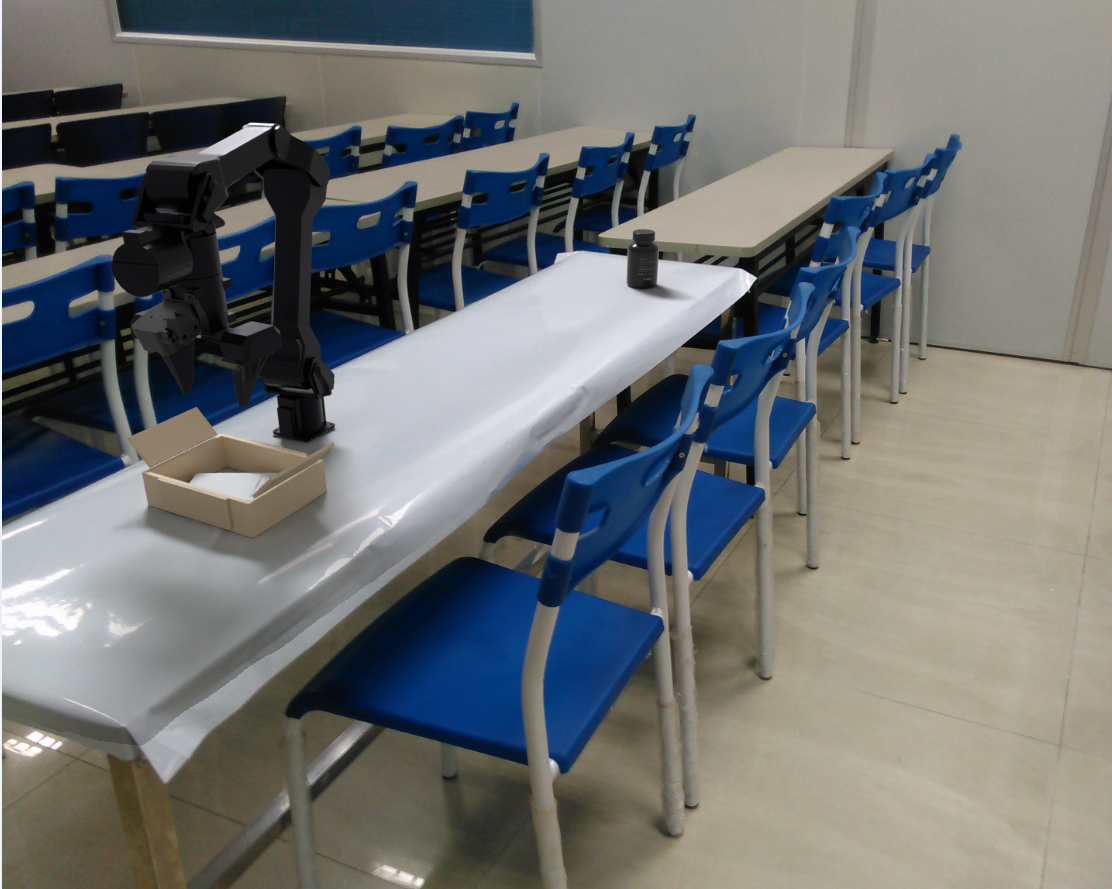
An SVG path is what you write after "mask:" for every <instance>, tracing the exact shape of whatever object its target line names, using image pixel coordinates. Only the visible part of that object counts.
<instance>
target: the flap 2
mask: <svg viewBox="0 0 1112 889" xmlns="http://www.w3.org/2000/svg"><path fill="white" fill-rule="evenodd" d="M335 445H336V443H335V442H334V441H332V442H330V443H328V444H326V445H325V446H323V447H321V448H320V449H318V450H316V451H315V452H313V453H311V454H309V455H307V457H306V458H304V459H302V460H300V461H299V462H297V463H295V464H293V465H292V466H290V467H288V468H286V469H285V470H283V471H281V472H279V473H278V474H276V475H274V476H273V477H271V478H270V479H269V480H268V481H267V482H266V483H265V484H264V485H263V486H262V487H261V488H260V489H259V490H258V491H257V492H256V493H255V494H254V495H253V498H254V499H255V498H256V497H258V496H260V495H261V494H263V493H265V492H266V491H268V490H270V489H272V488H273V487H275V486H277V485H278V484H280V483H282V482H283V481H285V480H287V479H289V478H290V477H292V476H294V475H295V474H297V473H299V472H300V471H302V470H304V469H306V468H307V467H309V466H311V465H312V464H314V463H316V462H317V461H318V460H319V459H322V458H323V456H325V455H326V453H328V451H330V450H331V449H332V448H333V447H334V446H335Z"/></svg>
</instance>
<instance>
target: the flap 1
mask: <svg viewBox="0 0 1112 889" xmlns="http://www.w3.org/2000/svg"><path fill="white" fill-rule="evenodd" d="M217 435H218V433H217V431H216V430H215V429H214V427H213V426H212V425H211V424H210V422H209V421H208V420H207V418H206V417H205V415H204V414H203V413H202V412H201V411H200V409H199V408H198V407H197V406H196V407H193V408H191V409H189V410H187V411H185V412H184V411H183V412H182V413H180V414H178V415H175V416H173V417H171V418H168V419H166V420H164V421H162V422H160V423H158V424H155V425H153V426H151V427H149V428H147V429H144V430H142V431H140V432H137V433H135V434H133V435H130V436H128V437H127V440H128V442H129V443H130V445H131V446H132V447H133V448H134V450H135V451H136V453H137V454H138V455H139V456H140V457H141V459H142V460H143V461H144V462H145V464H146V465H147V467H148V468H149V469H150V468H152V467H154V466H156V465H158V464H160V463H162V462H164V461H166V460H169V459H171V458H173V457H175V456H177V455H179V454H181V453H183V452H185V451H187V450H189V449H191V448H193V447H195V446H197V445H199V444H201V443H203V442H205V441H207V440H209V439H211V438H213V437H215V436H217Z"/></svg>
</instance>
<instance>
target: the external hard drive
mask: <svg viewBox="0 0 1112 889" xmlns="http://www.w3.org/2000/svg"><path fill="white" fill-rule="evenodd" d="M276 474H278V473H248V472H215V473H196V474H195V475H194V477H193V478H192V480H191V481H190V484H193V485H196V486H200V487H203V488H207V489H210V490H213V491H217V492H220V493H224V494H227V495H231V496H234V497H237V498H241V499H244V500H248V501H249V500H251V499H252V498H253V495H254V494H255V493H256V492H257V491H258V490H259V489H260V488H261V487H262V486H263V485H264V484H265V483H266V482H267V481H268V480H269V479H270V478H271V477H273V476H274V475H276Z"/></svg>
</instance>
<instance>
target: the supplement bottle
mask: <svg viewBox="0 0 1112 889" xmlns="http://www.w3.org/2000/svg"><path fill="white" fill-rule="evenodd" d="M632 241H633V242H631V243H630V244H629V245H628V247H627V260H626V285H627V286H628V287H629V288H632V287H633V289H637V288H639V290H644V289H645V290H646V289H652V288H655V287H656V286H657V285H658V277H659V276H658V272H659V255H660V253H659V252H660V247H659V246H658V244H657V243H655V241H656V232H655V230H653V229H647V228H645V229H644V228H642V229H641V228H639V229H634V230H633V231H632Z"/></svg>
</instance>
